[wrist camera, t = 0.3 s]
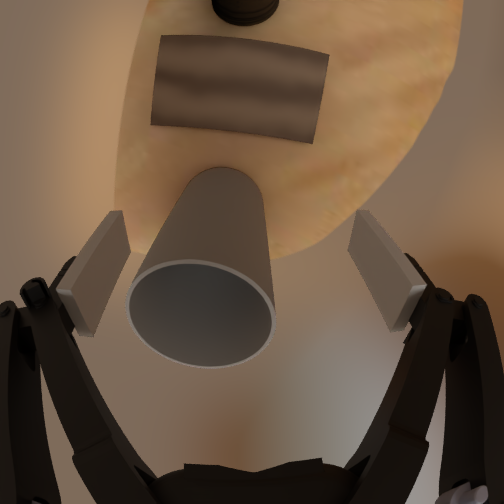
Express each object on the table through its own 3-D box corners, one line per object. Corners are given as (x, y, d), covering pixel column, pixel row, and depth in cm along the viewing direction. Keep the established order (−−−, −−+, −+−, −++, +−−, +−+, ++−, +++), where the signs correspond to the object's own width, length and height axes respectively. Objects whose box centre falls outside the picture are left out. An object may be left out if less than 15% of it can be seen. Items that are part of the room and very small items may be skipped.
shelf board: (167, 39, 30) (161, 35, 27) (323, 57, 32) (329, 54, 29) (157, 122, 37) (150, 125, 34) (308, 140, 38) (312, 143, 36)
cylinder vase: (279, 195, 43) (308, 309, 22) (234, 253, 48) (225, 382, 27) (209, 150, 39) (160, 227, 18) (169, 215, 45) (110, 331, 23)
